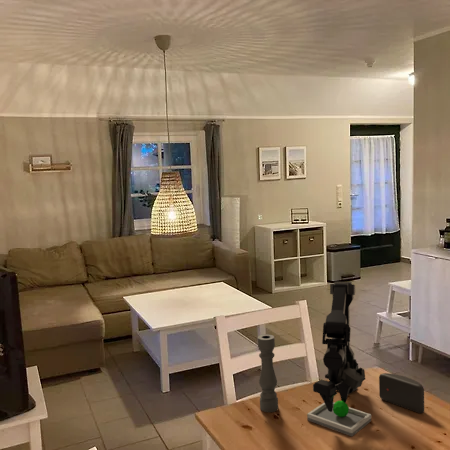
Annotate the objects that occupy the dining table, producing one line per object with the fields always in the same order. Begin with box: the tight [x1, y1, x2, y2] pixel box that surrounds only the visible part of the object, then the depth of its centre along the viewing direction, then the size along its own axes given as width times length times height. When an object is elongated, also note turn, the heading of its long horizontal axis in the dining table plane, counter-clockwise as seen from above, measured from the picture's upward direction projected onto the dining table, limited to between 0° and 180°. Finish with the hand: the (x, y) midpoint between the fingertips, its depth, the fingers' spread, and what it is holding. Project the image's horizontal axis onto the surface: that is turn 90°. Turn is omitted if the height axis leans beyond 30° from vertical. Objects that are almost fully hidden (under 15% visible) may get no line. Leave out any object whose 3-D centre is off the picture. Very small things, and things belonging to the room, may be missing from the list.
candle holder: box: [257, 334, 279, 413], centre depth 169 cm, size 6×6×25 cm
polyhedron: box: [333, 400, 350, 417], centre depth 160 cm, size 5×5×5 cm
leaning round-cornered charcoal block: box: [378, 372, 425, 414], centre depth 167 cm, size 16×5×9 cm, turn 39°
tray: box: [306, 401, 372, 437], centre depth 159 cm, size 16×12×2 cm
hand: (337, 407), depth 158 cm, fingers open, 8 cm apart
